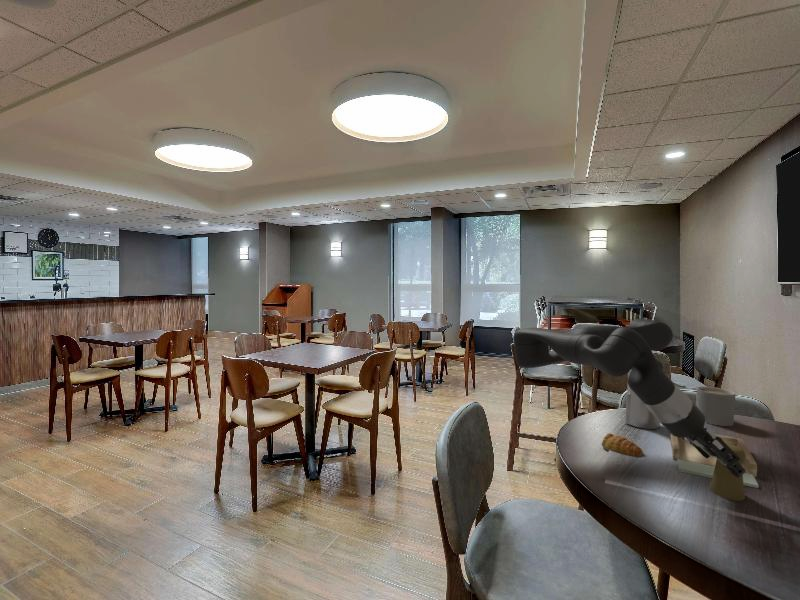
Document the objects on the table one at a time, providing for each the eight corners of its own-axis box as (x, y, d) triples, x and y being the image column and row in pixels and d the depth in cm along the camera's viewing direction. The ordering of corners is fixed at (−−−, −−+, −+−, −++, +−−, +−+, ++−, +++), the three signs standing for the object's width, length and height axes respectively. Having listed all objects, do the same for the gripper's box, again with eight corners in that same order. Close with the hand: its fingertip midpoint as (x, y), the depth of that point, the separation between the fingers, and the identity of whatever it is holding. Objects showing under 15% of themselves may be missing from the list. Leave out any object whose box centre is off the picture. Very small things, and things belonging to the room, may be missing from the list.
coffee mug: (735, 428, 127) (737, 396, 126) (695, 421, 132) (697, 391, 132) (730, 416, 138) (732, 387, 137) (694, 410, 143) (695, 382, 143)
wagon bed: (673, 462, 102) (673, 448, 102) (670, 438, 118) (670, 426, 118) (756, 479, 94) (757, 464, 94) (741, 451, 110) (742, 438, 109)
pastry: (647, 455, 107) (648, 441, 106) (635, 462, 103) (635, 447, 102) (611, 443, 114) (611, 430, 114) (598, 449, 110) (599, 435, 110)
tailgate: (677, 463, 102) (678, 473, 96) (677, 458, 101) (678, 468, 96) (752, 479, 94) (758, 490, 89) (752, 474, 94) (758, 485, 89)
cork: (701, 489, 89) (704, 440, 89) (727, 488, 90) (730, 439, 89) (726, 504, 83) (729, 452, 83) (753, 503, 84) (756, 451, 83)
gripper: (640, 409, 93) (687, 460, 93) (681, 433, 79) (737, 494, 79) (665, 387, 92) (713, 439, 93) (711, 407, 78) (767, 468, 78)
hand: (724, 464), depth 86 cm, fingers open, 8 cm apart
